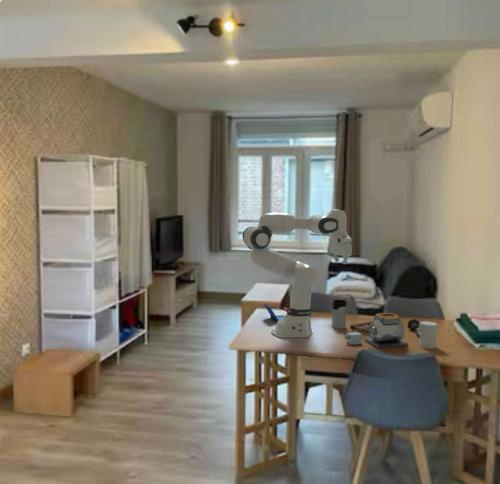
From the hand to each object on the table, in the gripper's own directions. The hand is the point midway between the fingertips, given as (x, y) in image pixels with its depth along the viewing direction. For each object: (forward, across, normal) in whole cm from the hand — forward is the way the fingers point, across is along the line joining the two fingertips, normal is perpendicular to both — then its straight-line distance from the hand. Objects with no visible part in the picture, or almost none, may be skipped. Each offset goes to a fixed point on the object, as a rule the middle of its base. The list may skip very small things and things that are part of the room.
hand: (340, 262), depth 305 cm
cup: (+42, +40, +26) cm, 63 cm away
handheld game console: (+36, -32, -28) cm, 56 cm away
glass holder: (+39, -12, 0) cm, 41 cm away
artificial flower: (+43, +19, +36) cm, 59 cm away
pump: (+38, +24, -8) cm, 46 cm away
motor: (+40, +30, +8) cm, 50 cm away
